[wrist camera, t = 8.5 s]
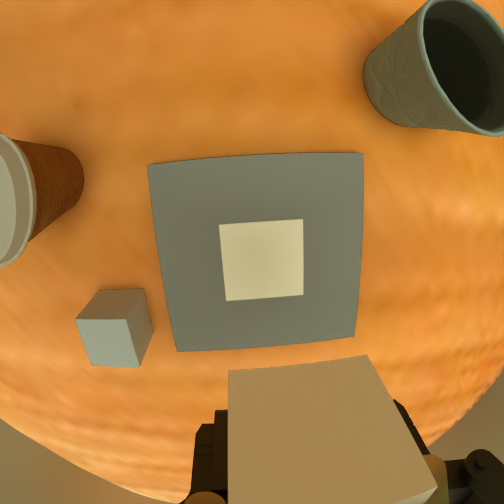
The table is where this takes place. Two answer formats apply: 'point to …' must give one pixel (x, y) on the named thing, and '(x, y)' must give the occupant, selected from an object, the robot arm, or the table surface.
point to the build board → (259, 248)
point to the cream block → (320, 438)
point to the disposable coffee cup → (33, 191)
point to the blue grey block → (116, 327)
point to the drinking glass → (441, 70)
